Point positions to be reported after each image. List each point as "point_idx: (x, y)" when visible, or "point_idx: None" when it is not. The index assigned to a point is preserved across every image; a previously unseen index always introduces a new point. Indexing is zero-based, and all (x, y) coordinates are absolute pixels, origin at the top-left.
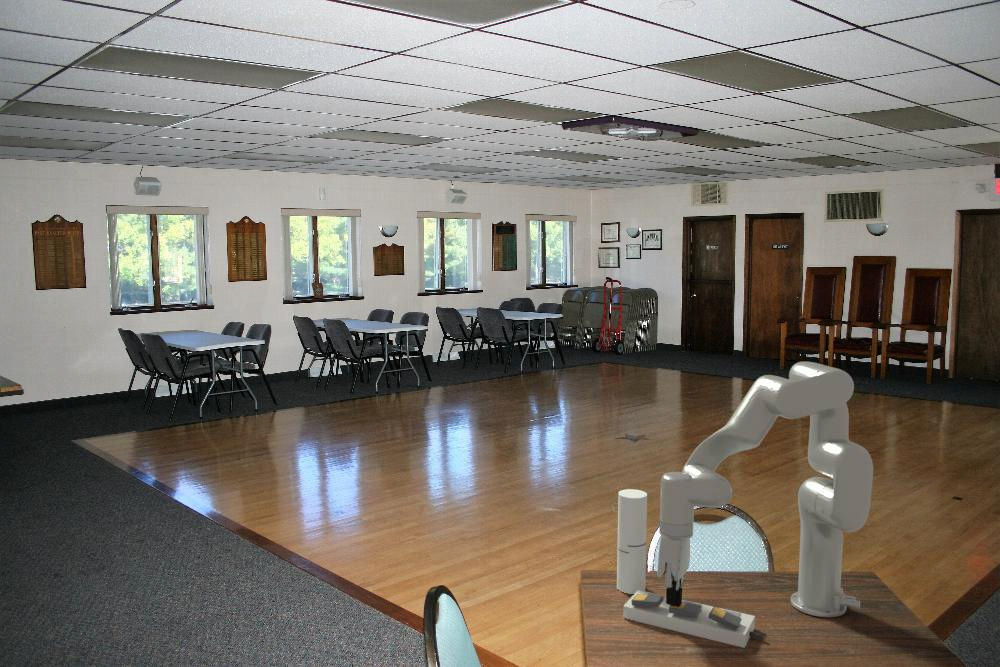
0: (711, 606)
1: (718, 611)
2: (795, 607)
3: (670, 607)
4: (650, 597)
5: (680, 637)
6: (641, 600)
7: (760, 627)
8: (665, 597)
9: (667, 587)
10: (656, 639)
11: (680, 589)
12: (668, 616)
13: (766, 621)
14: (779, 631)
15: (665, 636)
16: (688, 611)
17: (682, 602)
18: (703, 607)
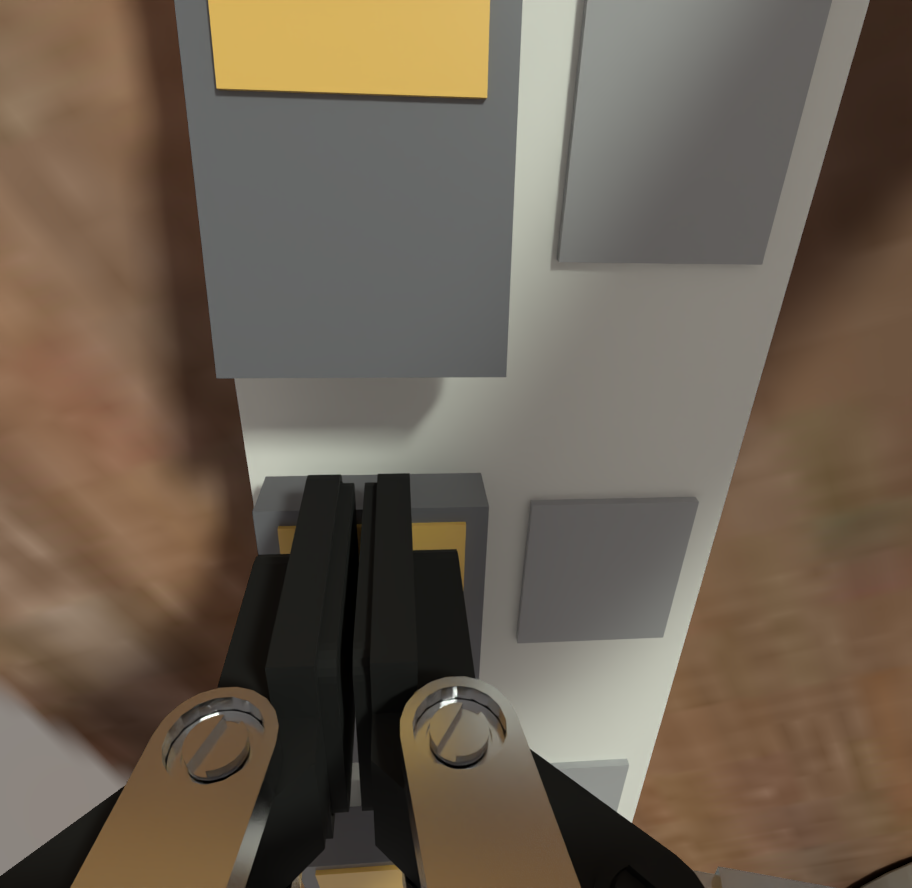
0: (667, 686)
1: (399, 882)
2: (893, 874)
3: (270, 525)
4: (389, 183)
5: (199, 517)
6: (211, 40)
7: None
8: (746, 273)
9: (166, 744)
10: (4, 360)
11: (368, 810)
12: (253, 456)
13: (702, 816)
14: None
15: (125, 412)
16: None
17: (478, 596)
18: (623, 648)
